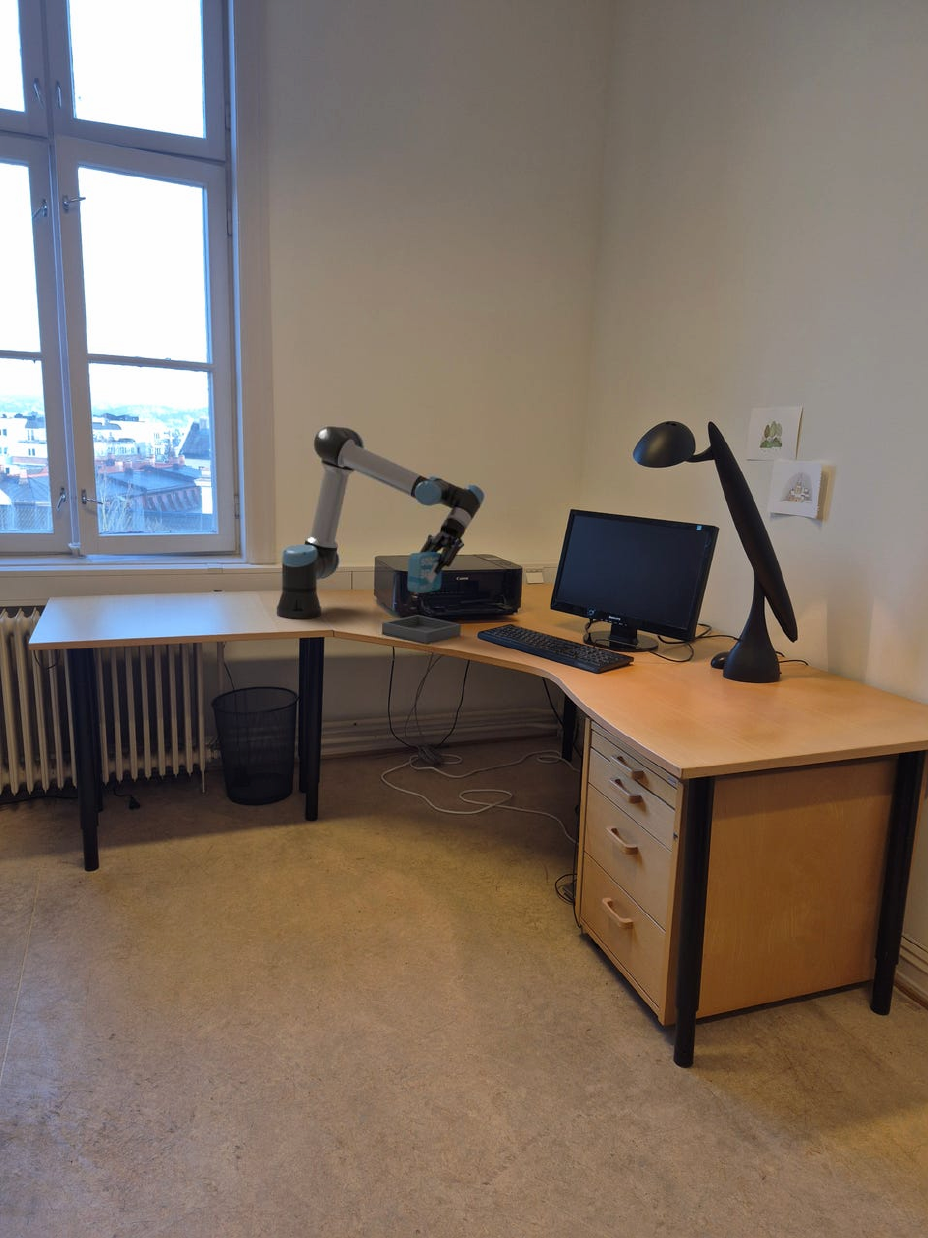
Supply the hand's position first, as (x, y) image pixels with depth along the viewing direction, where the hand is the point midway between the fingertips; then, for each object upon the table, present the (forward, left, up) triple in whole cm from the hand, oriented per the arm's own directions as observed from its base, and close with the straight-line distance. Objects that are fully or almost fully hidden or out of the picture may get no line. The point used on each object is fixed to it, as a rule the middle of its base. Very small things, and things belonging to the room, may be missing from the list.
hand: (422, 579), depth 239 cm
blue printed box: (0, +1, -4) cm, 4 cm away
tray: (0, +1, -18) cm, 18 cm away
